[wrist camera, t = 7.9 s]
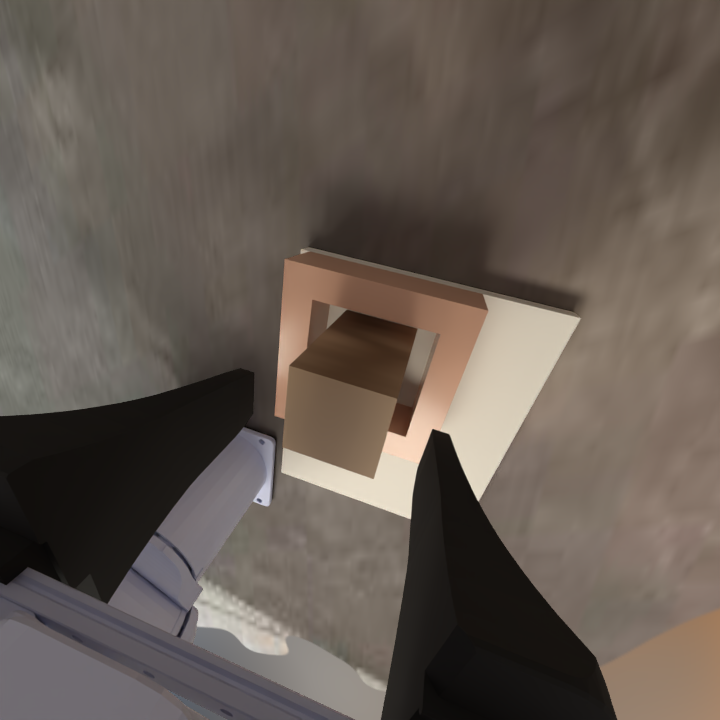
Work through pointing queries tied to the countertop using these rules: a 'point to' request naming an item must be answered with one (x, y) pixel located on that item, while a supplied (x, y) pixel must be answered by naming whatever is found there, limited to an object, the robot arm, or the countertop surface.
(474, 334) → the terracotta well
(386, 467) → the cream board
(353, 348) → the walnut block
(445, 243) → the countertop surface
